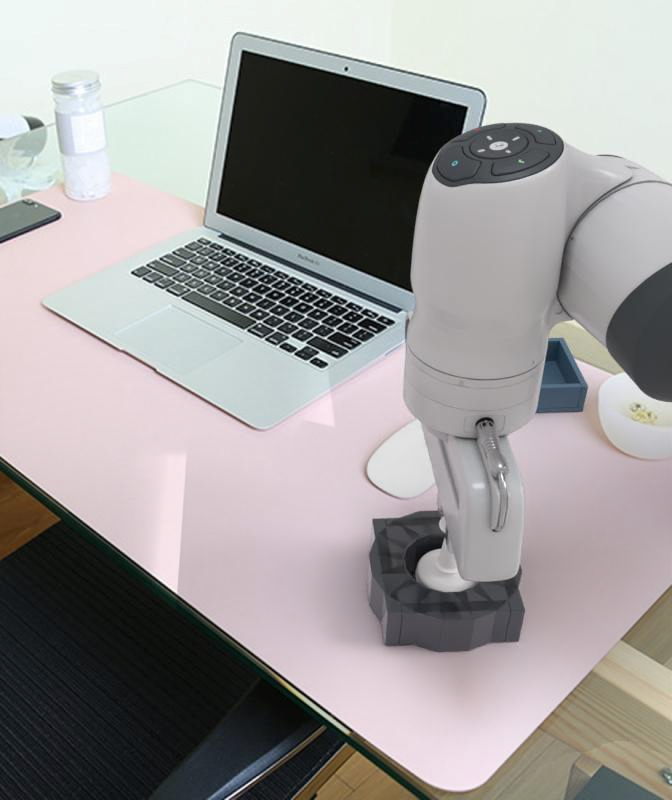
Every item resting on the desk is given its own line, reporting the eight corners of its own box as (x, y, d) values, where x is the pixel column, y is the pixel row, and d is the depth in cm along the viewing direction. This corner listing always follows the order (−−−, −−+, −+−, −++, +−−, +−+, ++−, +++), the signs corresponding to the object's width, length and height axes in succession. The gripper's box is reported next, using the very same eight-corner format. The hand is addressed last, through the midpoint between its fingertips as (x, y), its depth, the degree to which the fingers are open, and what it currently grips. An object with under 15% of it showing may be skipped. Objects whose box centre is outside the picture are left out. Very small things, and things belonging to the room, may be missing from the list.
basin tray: (558, 361, 100) (563, 337, 98) (582, 411, 93) (588, 386, 91) (476, 363, 100) (479, 339, 98) (494, 414, 93) (498, 389, 91)
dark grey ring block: (497, 538, 79) (502, 507, 77) (530, 648, 70) (537, 617, 68) (360, 543, 79) (362, 512, 77) (376, 654, 70) (379, 622, 68)
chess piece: (473, 608, 71) (487, 510, 65) (408, 592, 73) (417, 494, 67) (485, 562, 75) (499, 465, 69) (423, 547, 76) (432, 451, 70)
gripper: (563, 481, 54) (530, 639, 62) (487, 297, 70) (469, 442, 79) (452, 485, 54) (434, 643, 62) (402, 300, 70) (393, 445, 79)
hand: (453, 529), depth 71 cm, fingers closed on chess piece
